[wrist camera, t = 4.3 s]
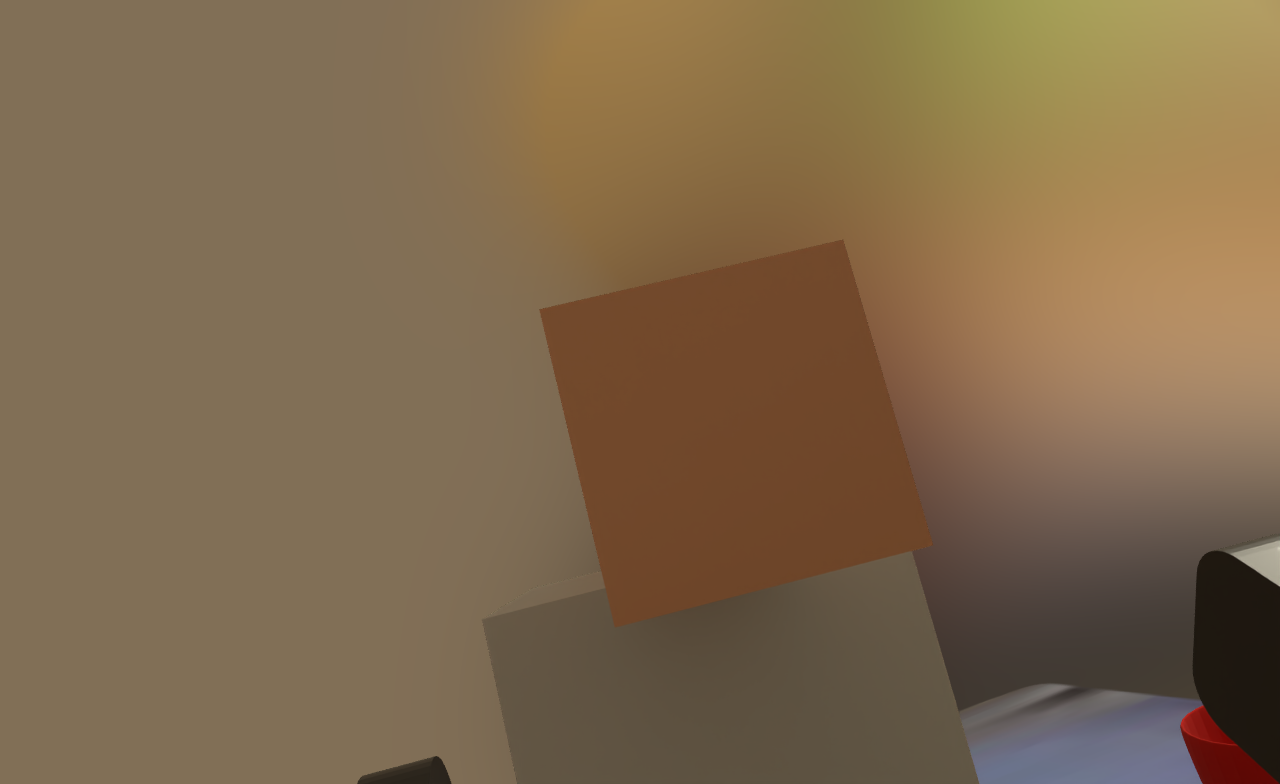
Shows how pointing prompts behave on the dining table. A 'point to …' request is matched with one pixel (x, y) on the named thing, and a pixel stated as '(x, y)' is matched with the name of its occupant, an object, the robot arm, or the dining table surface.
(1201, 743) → the ceramic cup
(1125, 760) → the dining table surface
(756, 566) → the lintel brick
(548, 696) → the tall tower
